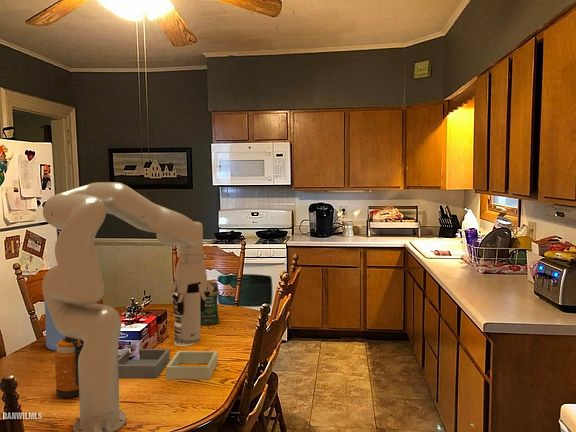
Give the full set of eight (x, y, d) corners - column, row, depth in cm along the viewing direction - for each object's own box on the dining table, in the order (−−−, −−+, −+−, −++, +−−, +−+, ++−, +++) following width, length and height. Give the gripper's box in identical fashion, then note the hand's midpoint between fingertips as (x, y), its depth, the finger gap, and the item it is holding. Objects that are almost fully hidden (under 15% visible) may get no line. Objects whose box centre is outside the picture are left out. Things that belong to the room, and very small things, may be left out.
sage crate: (209, 379, 142) (209, 367, 142) (166, 379, 143) (166, 367, 142) (217, 362, 156) (217, 351, 156) (178, 362, 156) (178, 350, 156)
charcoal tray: (156, 378, 143) (155, 366, 143) (110, 377, 144) (110, 365, 143) (169, 360, 158) (169, 349, 158) (128, 359, 159) (128, 348, 158)
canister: (80, 382, 140) (78, 320, 139) (98, 393, 133) (96, 327, 132) (51, 392, 133) (48, 327, 132) (67, 404, 126) (65, 335, 125)
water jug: (36, 349, 169) (33, 276, 167) (66, 336, 184) (63, 269, 182) (71, 353, 165) (68, 278, 163) (98, 339, 180) (96, 271, 178)
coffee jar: (197, 326, 197) (196, 284, 196) (197, 320, 205) (197, 281, 203) (219, 325, 198) (218, 284, 197) (219, 319, 206) (218, 280, 205)
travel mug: (196, 344, 144) (197, 283, 143) (177, 342, 145) (178, 282, 145) (204, 338, 150) (204, 280, 149) (186, 337, 152) (186, 279, 151)
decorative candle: (200, 338, 180) (199, 278, 179) (192, 346, 171) (191, 283, 170) (178, 338, 181) (177, 277, 180) (170, 346, 172) (168, 282, 170)
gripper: (212, 256, 154) (212, 307, 155) (162, 259, 146) (162, 313, 147) (219, 258, 147) (219, 312, 148) (167, 262, 139) (167, 318, 140)
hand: (191, 312), depth 147 cm, fingers closed on travel mug, 6 cm apart
